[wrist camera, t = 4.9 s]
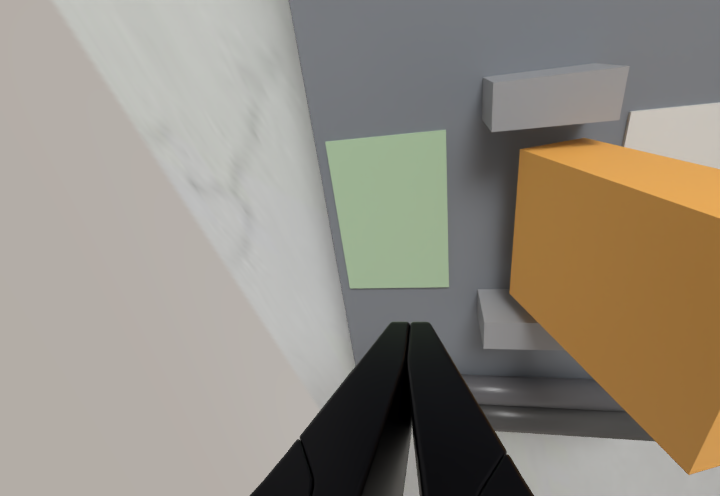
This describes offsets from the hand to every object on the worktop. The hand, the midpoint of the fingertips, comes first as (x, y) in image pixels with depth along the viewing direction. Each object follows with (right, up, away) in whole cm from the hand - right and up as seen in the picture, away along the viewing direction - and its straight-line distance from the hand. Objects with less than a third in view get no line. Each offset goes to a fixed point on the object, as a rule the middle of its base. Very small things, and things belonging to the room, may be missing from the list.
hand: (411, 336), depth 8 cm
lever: (+5, +3, +5) cm, 7 cm away
